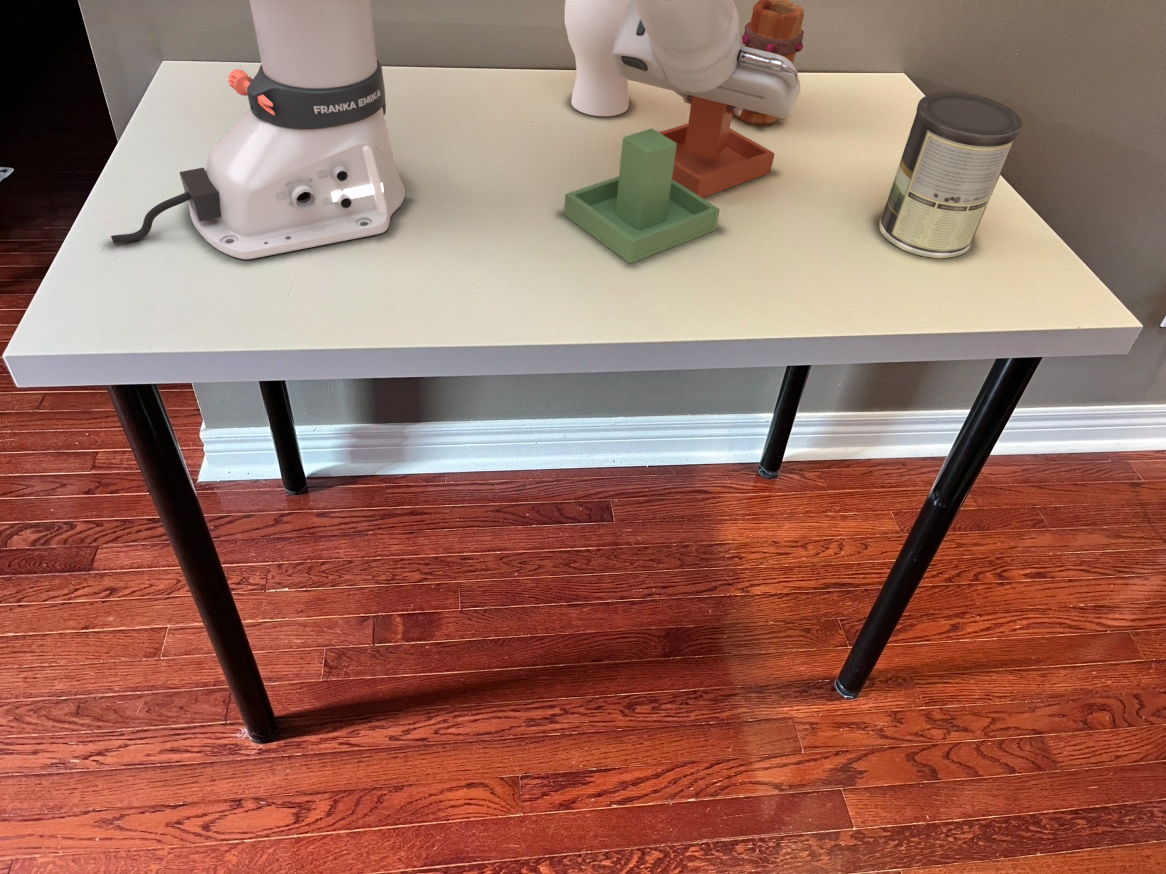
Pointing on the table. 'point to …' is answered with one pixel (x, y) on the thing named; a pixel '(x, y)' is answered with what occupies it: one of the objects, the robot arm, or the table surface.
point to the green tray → (682, 224)
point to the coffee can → (948, 173)
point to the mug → (773, 38)
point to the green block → (645, 178)
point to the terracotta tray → (718, 163)
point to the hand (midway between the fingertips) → (714, 103)
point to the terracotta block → (707, 128)
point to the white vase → (596, 56)
